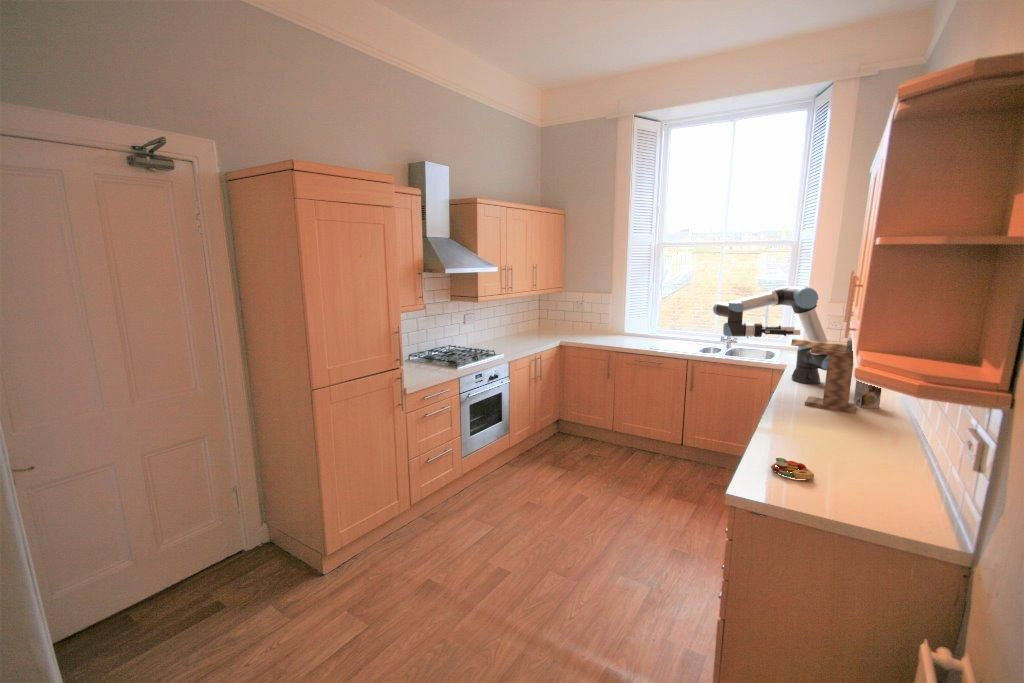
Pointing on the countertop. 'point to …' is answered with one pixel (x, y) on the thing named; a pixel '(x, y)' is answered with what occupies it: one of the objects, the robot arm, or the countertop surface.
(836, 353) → the walnut stand
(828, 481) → the countertop surface
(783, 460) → the toy food set
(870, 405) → the coffee box
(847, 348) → the wooden handled hammer
